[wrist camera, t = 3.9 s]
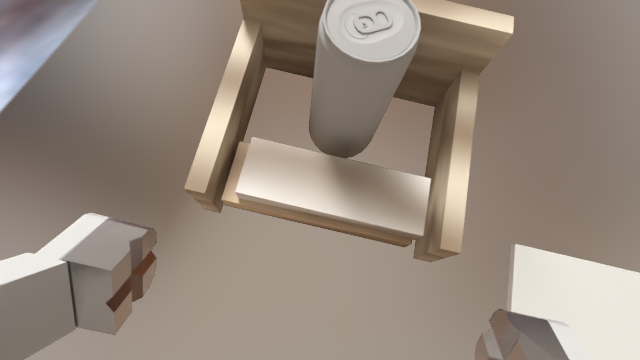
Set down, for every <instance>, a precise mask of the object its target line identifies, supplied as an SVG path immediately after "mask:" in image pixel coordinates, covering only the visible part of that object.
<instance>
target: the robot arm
mask: <svg viewBox="0 0 640 360" xmlns="http://www.w3.org/2000/svg"><path fill="white" fill-rule="evenodd" d="M156 240H157V239H156V231H155V230H154V229H153V228H150V227H146V226H142V225H139V224H135V223H131V222H127V221H123V220H119V219H115V218H109V217H106V216H102V215H98V214H94V213H89V214H85V215H83V216H82V217H81V218H80V219H78V220H77V221H76V222H75V223H73V224H72V225H71V226H69V227H68V228H67V229H66V230H65V231H63V232H62V233H61V234H60V235H58V236H57V237H56V238H54V239H53V240H52V241H51V242H50V243H48V244H47V245H46V246H44V247H43V248H42V249H41V250H39V251H38V252H37V253H36V254H32V253H25V254H21V255H18V256H15V257H12V258H9V259H6V260H2V261H0V360H24V359H26V358H28V357H29V356H31V355H33V354H34V353H36V352H38V351H40V350H41V349H43V348H45V347H46V346H48V345H50V344H52V343H53V342H55V341H57V340H59V339H60V338H62V337H64V336H65V335H67V334H68V333H70V332H72V331H74V330H75V329H76V327H77V328H82V329H88V330H92V331H98V332H102V333H107V334H112V335H116V333H117V332H118V331H119V329H120V328H121V327H122V325H123V324H124V322H125V321H126V319H127V318H128V317H129V316H130V314H131V313H132V302H134V301H136V300H138V299H140V298H142V297H143V296H144V295H145V293H146V292H147V290H148V289H149V287H150V285H151V282H152V280H153V278H154V275H155V270H156V259H157V258H156V257H155V255H154V254H153V252H152V251H151V249H152V248H153V247H154V246H155V244H156V243H157V241H156ZM489 321H490V324H491V327H492V329H490V330H488V331H486V332H484V333H482V334H481V336H480V338H479V340H478V342H477V344H476V350H475V360H590V358H589V356H588V355H587V353H586V352H585V350H584V348H583V347H582V345H581V343H580V342H579V340H578V339H577V337H576V335H575V334H574V332H573V330H572V329H571V327H569V326H568V325H567V324H566V323H564V322H559V321H555V320H550V319H545V318H538V317H534V316H529V315H525V314H520V313H516V312H512V311H507V310H502V309H498V310H497V311H495V312H494V313H493V315H492V317H491V319H490V320H489Z"/></svg>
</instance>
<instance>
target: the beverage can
mask: <svg viewBox="0 0 640 360" xmlns="http://www.w3.org/2000/svg"><path fill="white" fill-rule="evenodd" d="M420 31H421V21H420V16H419V13H418V11H417V8H416V6H415V5H414V4H413V2H412V1H411V0H327V2H326V5H325V7H324V10H323V13H322V15H321V18H320V21H319V27H318V37H317V47H316V58H315V68H314V78H313V89H312V100H311V110H310V121H309V132H310V136H311V139H312V140H313V142H314V144H315V145H316V146H317V147H318V148H319V149H320V150H321V151H322V152H324V153H326V154H328V155H333V156H337V157H341V158H348V157H353V156H355V155H357V154H358V153H360V152H361V151H363V150H364V149H365V147H367V145H368V144H369V143H370V141H371V139H372V137H373V135H374V133H375V131H376V129H377V127H378V125H379V123H380V121H381V119H382V117H383V115H384V113H385V111H386V109H387V107H388V105H389V103H390V101H391V99H392V97H393V95H394V93H395V91H396V90H397V88H398V86H399V84H400V82H401V80H402V78H403V76H404V74H405V72H406V70H407V68H408V66H409V64H410V62H411V60H412V58H413V56H414V54H415V52H416V49H417V45H418V41H419V35H420Z"/></svg>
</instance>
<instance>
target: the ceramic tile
mask: <svg viewBox="0 0 640 360" xmlns="http://www.w3.org/2000/svg"><path fill="white" fill-rule="evenodd" d="M508 278H509V279H508V293H507V308H506V310H507V311H512V312H516V313H520V314H525V315H529V316H534V317H538V318H545V319H550V320H555V321H559V322H564V323H566V324H567V325H568V326H569V327H571V329H572V330H573V332H574V334H575V335H576V337H577V339H578V340H579V342H580V343H581V345H582V347H583V348H584V350H585V352H586V353H587V355H588V356H589V358H590V360H640V273H638V272H633V271H629V270H625V269H621V268H616V267H612V266H608V265H603V264H599V263H594V262H591V261H587V260H582V259H578V258H573V257H569V256H565V255H561V254H556V253H552V252H548V251H544V250H539V249H535V248H531V247H527V246H522V245H518V244H513V245H511V246H510V261H509V277H508Z"/></svg>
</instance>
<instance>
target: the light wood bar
mask: <svg viewBox="0 0 640 360" xmlns="http://www.w3.org/2000/svg"><path fill="white" fill-rule="evenodd" d="M430 183H431V178H427V177H422V176H418V175H414V174H409V173H405V172H401V171H397V170H392V169H388V168H384V167H380V166H375V165H371V164H367V163H362V162H358V161H354V160H349V159H345V158H341V157H337V156H333V155H328V154H324V153H320V152H315V151H311V150H306V149H303V148H298V147H294V146H289V145H286V144H281V143H277V142H273V141H268V140H264V139H260V138H256V137H252V138H251V142H250V144H249V143H245V142H241V141H240V142H239V145H238V148H237V151H236V154H235V158H234V161H233V164H232V167H231V170H230V173H229V177H228V180H227V183H226V186H225V189H224V193H223V196H222V199H221V200H222V201H223V203H224V204H225V205H227V206H231V207H235V208H239V209H244V210H248V211H252V212H257V213H260V214H265V215H269V216H273V217H278V218H282V219H286V220H290V221H295V222H299V223H303V224H307V225H312V226H316V227H320V228H324V229H329V230H333V231H337V232H342V233H346V234H351V235H354V236H359V237H363V238H368V239H371V240H376V241H380V242H384V243H389V244H393V245H397V246H401V247H406V246H408V245H410V244H411V243H412V239H413V240H416V239H418V238H420V237H422V236H423V234H424V226H425V219H426V212H427V205H428V197H429V190H430Z"/></svg>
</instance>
